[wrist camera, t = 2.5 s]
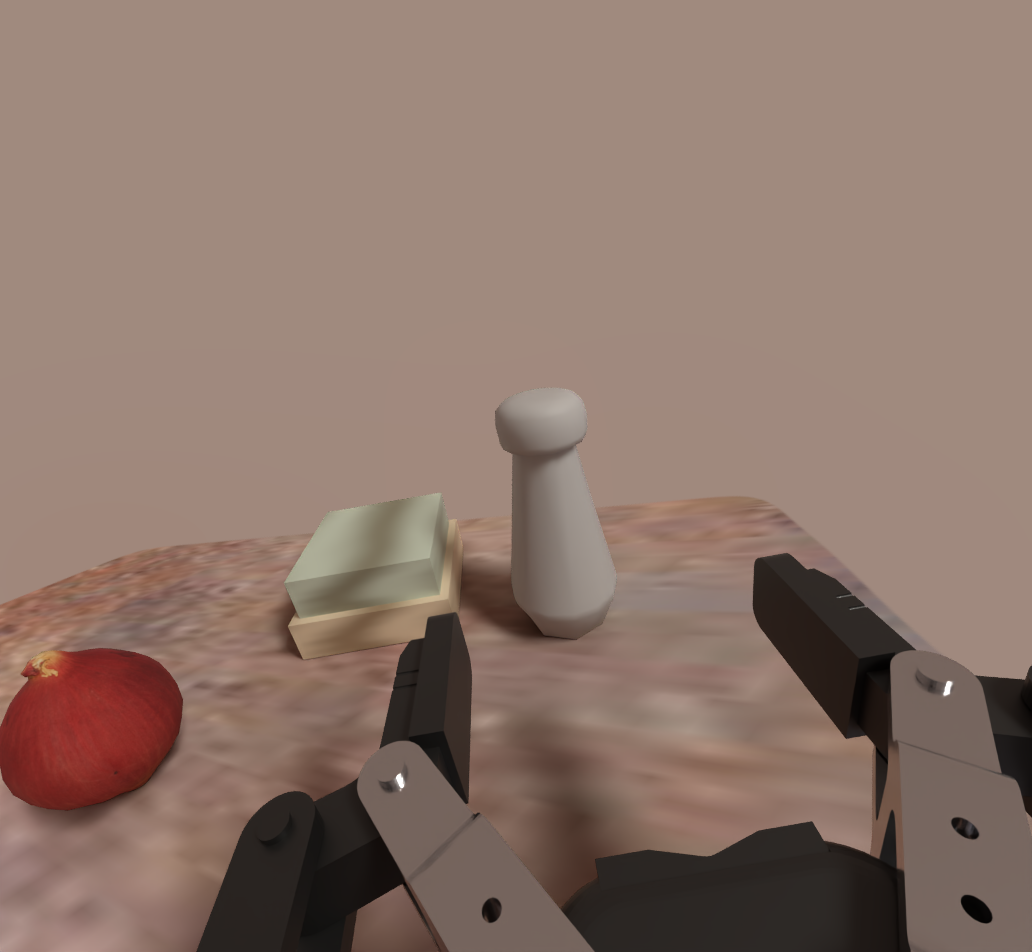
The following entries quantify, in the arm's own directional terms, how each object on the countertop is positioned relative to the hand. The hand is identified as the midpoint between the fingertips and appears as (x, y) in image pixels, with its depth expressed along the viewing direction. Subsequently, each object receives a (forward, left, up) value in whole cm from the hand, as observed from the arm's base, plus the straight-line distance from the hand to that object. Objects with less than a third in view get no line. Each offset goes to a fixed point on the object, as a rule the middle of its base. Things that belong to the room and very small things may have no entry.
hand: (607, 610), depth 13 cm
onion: (-21, +5, -10) cm, 24 cm away
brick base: (-11, +16, -10) cm, 22 cm away
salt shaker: (0, +12, -10) cm, 15 cm away
